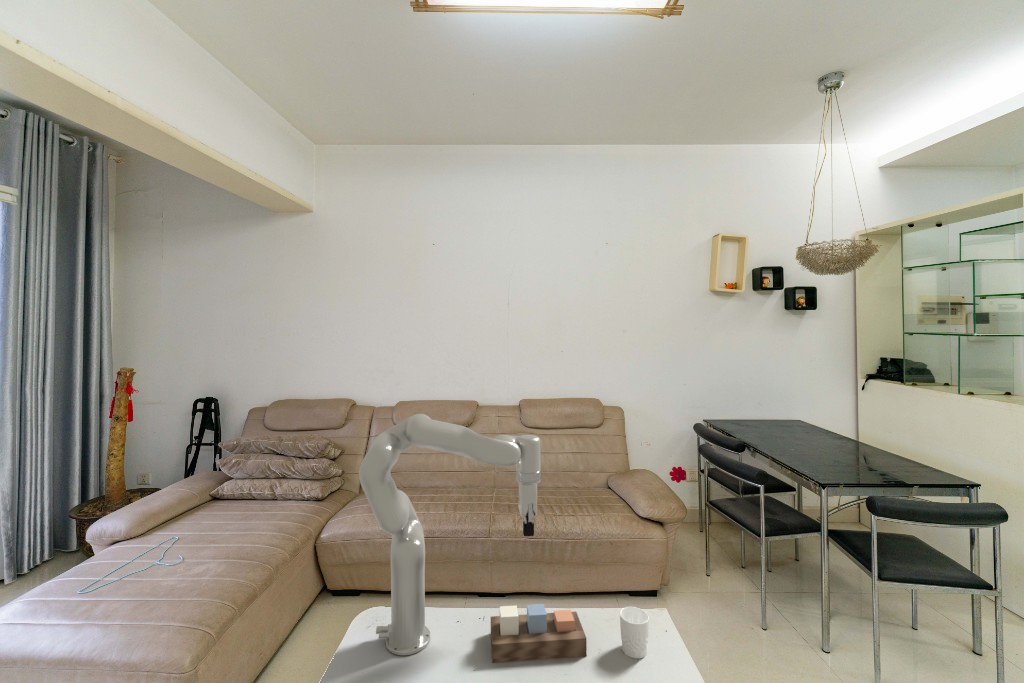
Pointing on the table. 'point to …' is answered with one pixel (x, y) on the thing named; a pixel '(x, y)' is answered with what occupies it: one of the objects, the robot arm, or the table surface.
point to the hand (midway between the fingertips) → (528, 534)
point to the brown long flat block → (537, 642)
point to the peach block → (564, 621)
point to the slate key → (536, 619)
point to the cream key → (509, 620)
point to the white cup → (634, 631)
